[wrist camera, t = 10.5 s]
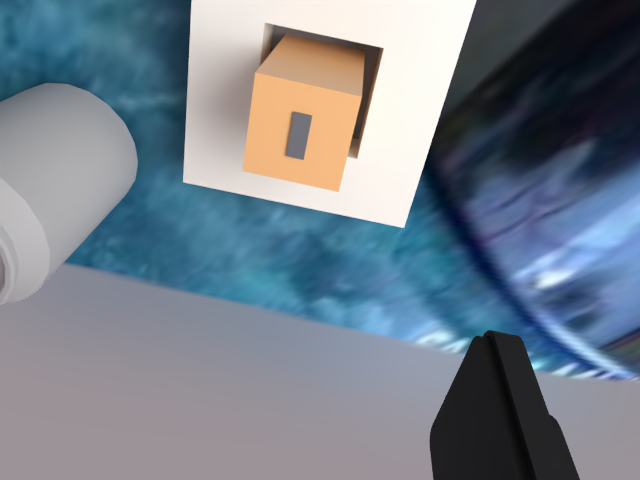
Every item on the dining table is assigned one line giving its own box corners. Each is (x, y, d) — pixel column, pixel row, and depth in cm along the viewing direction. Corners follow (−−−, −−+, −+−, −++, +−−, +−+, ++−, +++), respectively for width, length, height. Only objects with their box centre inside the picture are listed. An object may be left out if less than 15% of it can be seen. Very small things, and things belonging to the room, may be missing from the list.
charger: (286, 33, 26) (254, 73, 19) (365, 51, 26) (362, 97, 19) (274, 110, 28) (242, 172, 21) (347, 126, 28) (338, 193, 21)
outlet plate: (214, -80, 23) (195, -80, 21) (470, -24, 24) (482, -18, 21) (199, 160, 30) (183, 182, 27) (401, 202, 30) (403, 227, 28)
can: (143, 93, 28) (12, 189, 18) (144, 211, 32) (37, 345, 22) (7, 65, 28) (-203, 146, 18) (24, 187, 32) (-139, 311, 22)
